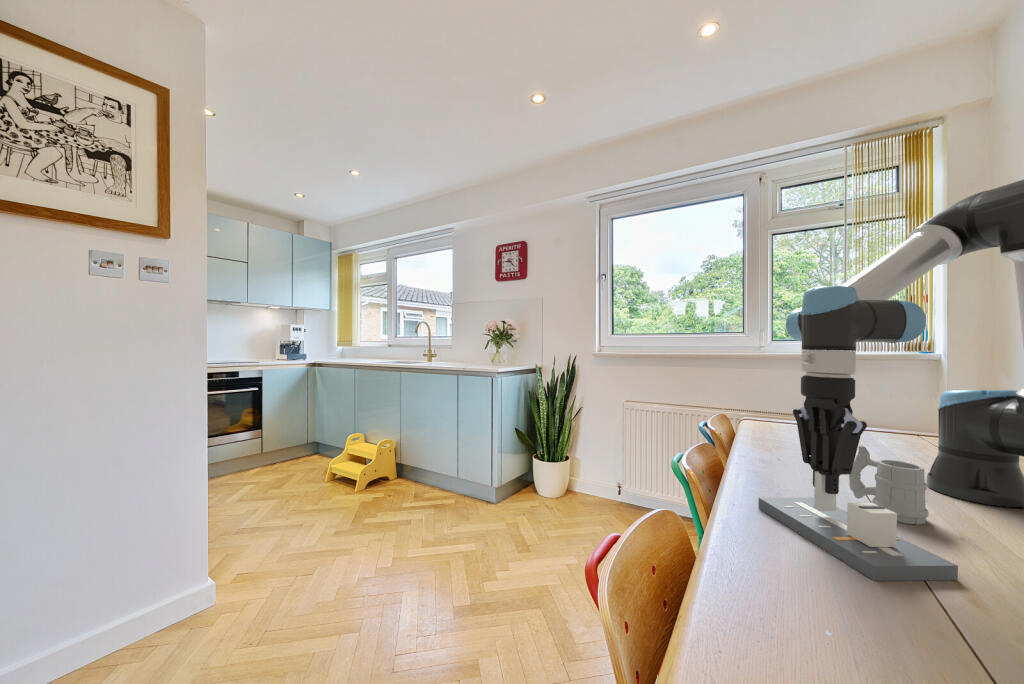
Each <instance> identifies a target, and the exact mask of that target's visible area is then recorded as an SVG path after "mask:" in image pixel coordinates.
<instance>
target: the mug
mask: <svg viewBox="0 0 1024 684" xmlns="http://www.w3.org/2000/svg"><path fill="white" fill-rule="evenodd" d="M857 451H858V452H857V454H856V456H855V460H854V464H853V468H852V472H851V474H848V477H849V478H848V480H849V482H848V483H849V489H850V491H852V492H853V496H854V497H855V498H856V499H862V498H863V497H865V496H874V497H873V498H872V502H871V503H874V504H876V505H879V506H883V507H885V508H886V509H888V510H890V511H893V512H895V513H897V523H898V522H899V523H904V524H907V525H908V524H909V525H918V526H919V525H925V524H926V523H927V518H928V517H929V510H928V509H927V507H926V490H927V489H928V486H927V482H925V481H926V478H925V469H924V467H923V466H920V465H918V464H915V463H911V462H906V461H902V460H893V459H879V460H874V459H871V454H870V451H868V449H867V447H865V446H864V445H862V444H861V445H858V450H857ZM867 466H871V467H873V468H874V467H876V473H875V474H874V480H875V486H866V485H865V484H864V482H863V481H862V480H861V477H862V476H861V475H862V471H863V469H865V468H866V467H867Z"/></svg>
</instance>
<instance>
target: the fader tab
mask: <svg viewBox="0 0 1024 684" xmlns="http://www.w3.org/2000/svg"><path fill="white" fill-rule="evenodd" d="M846 512H847V534H848V535H850V536H851V537H853V538H855V539H857V540H859V541H860V542H862V543H864V544H866V545H868V546H870V547H896V542H897V536H898V531H897V530H898V529H897V527H898V526H897V525H898V521H897V513H895V512H893V511H890V510H888V509H886V508H885V507H883V506H879V505H876V504H874V503H872V502H847V511H846Z"/></svg>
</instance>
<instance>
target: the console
mask: <svg viewBox="0 0 1024 684" xmlns="http://www.w3.org/2000/svg"><path fill="white" fill-rule="evenodd" d="M757 503H758V509H759V510H761V511H763V512H764V513H766V514H768V515H770V516H771V517H772V518H773V519H776V520H777V521H779V522H780V523H782V524H783V525H785V526H786V527H788V528H790V529H791V530H792V531H795V532H796V533H798V534H799V535H801V536H803V537H804V538H806V539H807V540H808V541H811V542H812V543H813V544H814V545H817V546H819V547H820V548H822V549H823V550H825V551H826V552H828V553H829V554H831V555H833V556H834V557H836V558H838V559H839V560H841V561H842V562H843V563H845V564H847V565H848V566H850V567H852V568H853V569H855V570H856V571H858V572H859V573H861V574H862V575H865V576H866V577H868V578H869V579H871V580H873V581H874V582H884V581H885V582H890V581H891V582H893V581H894V582H899V581H901V582H902V581H903V582H904V581H905V582H907V581H908V582H909V581H912V582H913V581H914V582H915V581H958V580H959V578H958V577H959V565H958V564H955V563H954V562H951V561H949V560H947V559H946V558H943V557H941V556H939V555H937V554H935V553H932V552H931V551H929V550H927V549H925V548H922V547H921V546H919V545H916V544H915V543H912V542H910V541H908V540H906V539H904V538H902V537H900V536H898V535H897V542H896V547H870V546H868V545H866V544H864V543H862V542H860V541H859V540H857V539H855V538H853V537H851V536H850V535H848V534H847V511H846V510H844V509H842V508H840V507H837V506H836V511H819V510H817V509H815V508H814V497H758V502H757Z"/></svg>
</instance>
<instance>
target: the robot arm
mask: <svg viewBox="0 0 1024 684" xmlns="http://www.w3.org/2000/svg"><path fill="white" fill-rule="evenodd" d="M991 248H999V249H1000V250H999V251H1000V256H1003V257H1004V258H1006V259H1009V260H1011V261H1012V262H1013V264H1014V274H1015V280H1016V282H1015V283H1016V292H1017V298H1018V299H1017V300H1018V301H1017V302H1018V308H1019V310H1018V311H1019V318H1020V328H1021V338H1022V346H1023V347H1022V348H1023V349H1024V179H1021V180H1018V181H1015V182H1011V183H1008V184H1004V185H1001V186H997V187H995V188H991V189H989V190H983V191H980V192H977V193H973V194H971V195H969V196H967V197H965V198H963V199H961V200H959V201H957V202H955V203H953V204H952V205H950V206H948V207H947V208H945V209H943V210H942V211H940V212H938V213H936V214H935V215H933V216H932V217H931V218H929V219H927V220H926V221H925V222H922V223H921V224H920V225H919V226H917V227H916V228H914V229H913V230H911V231H910V232H909V234H908V235H907V237H906V239H905V241H904V242H903V243H901V244H900V245H898V246H897V247H896V248H894V249H892V250H890V252H888V253H887V254H885V255H883V256H882V257H881V258H880V259H878V260H877V261H876V262H875V261H874V263H873V264H871V265H869V267H867V268H865V269H864V270H862V271H861V272H859V273H858V274H857V275H855V276H853V277H852V278H851V279H850V280H848V281H846V282H845V283H844V284H842V285H826V286H825V285H824V286H818V287H817V286H816V287H811V288H809V289H807V290H805V291H804V293H803V296H802V304H801V307H800V308H795V309H793V310H792V311H791V312H790V313H788V315H787V317H786V319H785V329H786V332H787V334H788V335H789V337H791V339H793V340H795V341H797V342H798V341H799V342H801V364H800V365H801V368H800V369H801V372H803V373H804V374H803V375H802V376H800V394H801V395H802V396H803V397H805V399H804V402H803V406H802V407H801V408H794V409H793V410H792V414H793V416H794V418H795V422H796V426H797V427H796V428H797V431H798V432H797V433H798V438H799V444H800V451H801V452H800V453H801V456H802V457H801V458H802V461H803V463H804V464H808V465H809V466H810V468H811V470H812V486H813V488H814V496H813V498H814V508H815V509H817V510H819V511H836V507H837V495H838V494H839V493H840V492H839V491H840V490H839V488H840V476H843V475H845V476H847V475H849V474H851V472H852V468H853V464H854V461H855V459H856V456H857V453H858V452H857V451H858V449H859V444H860V440H861V436H862V434H863V433H864V432H865V431H866V429H867V428H868V424H867V422H865V421H864V420H860V421H859V420H858V419H857V418H856V417H855V416H854V415H853V414H854V413H853V411H854V410H853V408H852V406H851V401H852V400H854V399H855V398H856V379H855V378H854V377H852V375H855V374H856V373H857V371H856V369H857V368H856V367H857V363H856V362H857V356H856V355H857V353H856V351H857V343H887V344H898V343H907V342H911V341H913V340H915V339H917V338H919V337H920V336H921V335H922V333H923V332H924V331H925V329H926V326H927V315H926V313H925V311H924V310H923V308H922V307H921V306H919V304H917V303H915V302H911V301H909V300H908V301H906V300H898V299H897V298H895V299H892V298H893V297H894V296H895V295H897V294H899V293H900V292H901V291H903V290H905V289H906V288H907V287H908V286H910V285H911V284H913V283H914V282H916V281H917V280H918V279H920V278H921V277H923V276H924V275H926V274H927V273H929V272H930V271H931V270H933V269H934V268H936V267H937V266H941V265H942V266H943V265H947V264H950V263H951V262H954V261H956V260H957V259H958V258H959V257H961V256H963V255H968V254H969V253H974V252H978V251H982V250H987V249H991ZM891 299H892V300H891ZM939 396H940V397H939V403H938V407H937V410H938V427H937V428H938V429H937V430H938V437H937V439H938V443H937V444H938V451H937V456H936V457H935V459H934V461H933V463H932V465H931V467H930V470H929V472H928V473H927V475H926V484H927V488H929V489H931V490H934V491H936V492H938V493H941V494H943V495H946V496H950V497H953V498H958V499H961V500H965V501H969V502H974V503H979V504H983V505H989V506H990V505H991V506H995V505H996V507H1002V506H1008V507H1007V508H1012V507H1024V474H1023V471H1022V470H1021V467H1020V457H1023V458H1024V386H1023V387H1022V388H1020V389H1019V390H1014V389H963V390H962V389H960V390H959V389H955V390H953V389H952V390H951V389H950V390H949V389H948V390H945V391H944V392H942V393H941V394H940V395H939Z"/></svg>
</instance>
